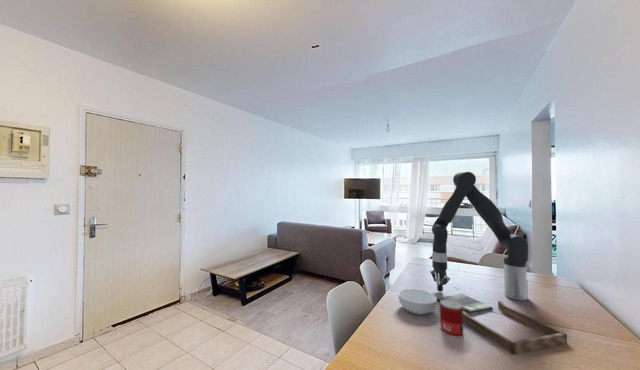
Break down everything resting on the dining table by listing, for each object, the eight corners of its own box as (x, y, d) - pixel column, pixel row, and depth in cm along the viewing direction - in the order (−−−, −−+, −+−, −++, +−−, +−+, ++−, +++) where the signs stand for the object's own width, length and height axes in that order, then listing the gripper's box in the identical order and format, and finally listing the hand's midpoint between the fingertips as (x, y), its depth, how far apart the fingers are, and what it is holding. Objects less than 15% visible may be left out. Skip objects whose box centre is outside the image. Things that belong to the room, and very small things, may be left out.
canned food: (466, 337, 93) (465, 308, 93) (443, 335, 94) (443, 306, 95) (458, 326, 100) (458, 300, 101) (438, 324, 102) (437, 298, 102)
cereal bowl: (434, 305, 119) (434, 291, 119) (439, 322, 104) (439, 306, 104) (398, 300, 125) (398, 286, 125) (398, 316, 109) (398, 300, 109)
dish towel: (461, 296, 131) (461, 290, 131) (494, 311, 114) (493, 304, 114) (434, 301, 125) (434, 294, 125) (464, 318, 108) (464, 310, 108)
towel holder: (499, 307, 117) (499, 300, 117) (571, 342, 90) (571, 333, 90) (447, 315, 109) (447, 307, 110) (508, 355, 82) (507, 345, 82)
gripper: (454, 262, 130) (454, 295, 129) (437, 256, 143) (437, 285, 142) (442, 263, 128) (442, 296, 127) (426, 257, 141) (426, 287, 140)
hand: (440, 290), depth 135 cm, fingers closed
